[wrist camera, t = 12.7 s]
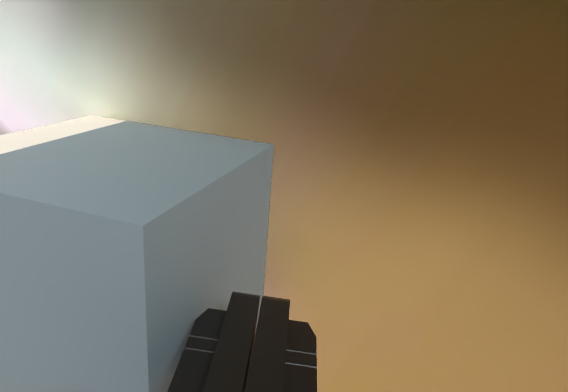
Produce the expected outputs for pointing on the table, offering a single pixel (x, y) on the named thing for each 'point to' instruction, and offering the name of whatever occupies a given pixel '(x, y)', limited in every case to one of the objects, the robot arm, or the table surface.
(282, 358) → the robot arm
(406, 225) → the table surface
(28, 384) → the block
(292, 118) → the table surface
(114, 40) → the table surface
